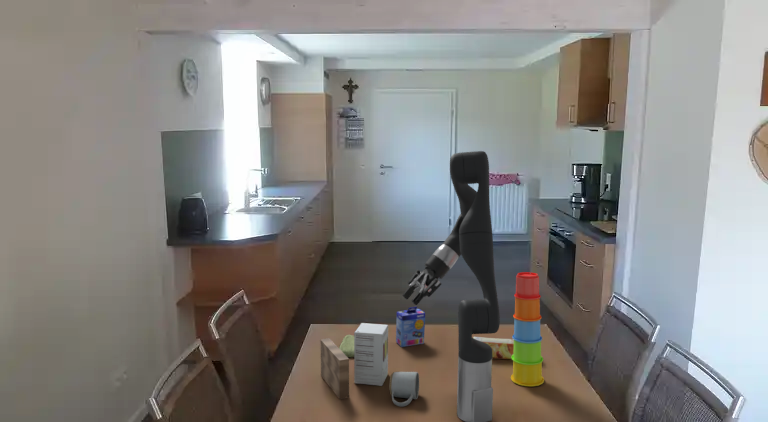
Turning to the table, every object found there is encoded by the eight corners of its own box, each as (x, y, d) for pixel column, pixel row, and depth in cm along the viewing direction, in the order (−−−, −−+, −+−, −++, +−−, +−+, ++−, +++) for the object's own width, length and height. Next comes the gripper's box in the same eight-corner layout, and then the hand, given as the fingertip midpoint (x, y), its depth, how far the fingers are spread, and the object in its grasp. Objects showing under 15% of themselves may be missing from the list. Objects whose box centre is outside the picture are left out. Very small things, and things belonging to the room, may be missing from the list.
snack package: (531, 355, 200) (532, 337, 199) (534, 362, 193) (535, 344, 192) (471, 352, 202) (471, 334, 201) (471, 359, 196) (472, 341, 195)
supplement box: (382, 386, 174) (382, 334, 172) (353, 383, 176) (353, 332, 174) (388, 373, 183) (388, 324, 181) (361, 371, 185) (360, 322, 183)
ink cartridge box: (401, 347, 205) (402, 309, 203) (395, 342, 210) (395, 305, 208) (425, 343, 209) (426, 306, 207) (418, 338, 214) (418, 302, 212)
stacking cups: (514, 387, 174) (519, 278, 169) (507, 373, 184) (511, 270, 179) (547, 387, 174) (553, 279, 169) (539, 373, 184) (543, 270, 179)
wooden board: (349, 397, 167) (348, 358, 165) (339, 399, 166) (339, 360, 164) (329, 373, 183) (329, 338, 182) (320, 374, 182) (320, 339, 180)
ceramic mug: (393, 389, 172) (393, 365, 171) (419, 391, 171) (419, 368, 170) (386, 406, 162) (386, 381, 161) (414, 409, 161) (414, 384, 159)
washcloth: (378, 341, 212) (378, 333, 212) (372, 360, 195) (372, 351, 194) (344, 340, 214) (344, 332, 213) (335, 358, 196) (335, 349, 196)
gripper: (424, 249, 190) (392, 287, 187) (446, 258, 177) (412, 299, 174) (437, 263, 193) (406, 301, 189) (460, 273, 180) (426, 314, 176)
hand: (409, 300), depth 182 cm, fingers open, 6 cm apart
